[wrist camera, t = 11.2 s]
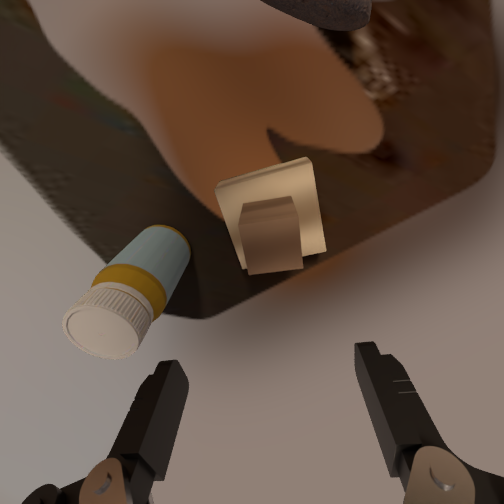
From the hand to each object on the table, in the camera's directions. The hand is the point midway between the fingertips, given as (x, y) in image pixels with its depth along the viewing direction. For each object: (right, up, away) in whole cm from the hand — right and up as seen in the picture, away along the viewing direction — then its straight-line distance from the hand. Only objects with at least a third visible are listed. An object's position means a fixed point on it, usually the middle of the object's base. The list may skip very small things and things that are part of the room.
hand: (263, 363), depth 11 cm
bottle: (-12, +6, +22) cm, 26 cm away
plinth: (+2, +10, +19) cm, 22 cm away
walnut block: (+1, +8, +15) cm, 18 cm away
